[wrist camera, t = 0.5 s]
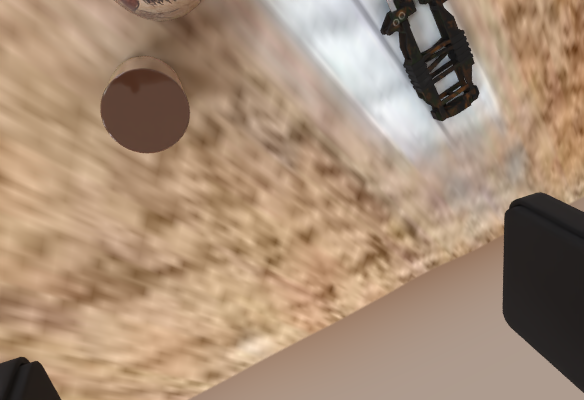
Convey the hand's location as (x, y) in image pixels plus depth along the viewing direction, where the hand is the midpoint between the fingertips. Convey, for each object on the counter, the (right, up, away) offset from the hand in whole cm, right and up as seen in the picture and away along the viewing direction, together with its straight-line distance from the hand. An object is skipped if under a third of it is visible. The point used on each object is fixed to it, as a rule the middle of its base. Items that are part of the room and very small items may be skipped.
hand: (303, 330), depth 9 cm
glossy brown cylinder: (-11, +10, +24) cm, 29 cm away
